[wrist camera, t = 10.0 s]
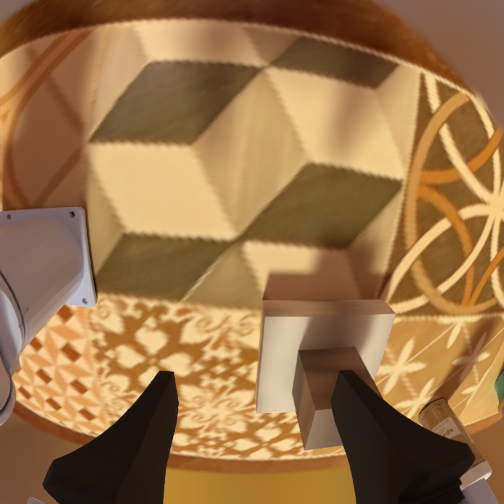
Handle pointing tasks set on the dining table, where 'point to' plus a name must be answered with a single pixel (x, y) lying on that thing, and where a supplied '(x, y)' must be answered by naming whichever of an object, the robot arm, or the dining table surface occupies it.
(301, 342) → the birch block
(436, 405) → the sprinkles bottle
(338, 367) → the walnut block
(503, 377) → the cupcake
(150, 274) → the dining table surface
